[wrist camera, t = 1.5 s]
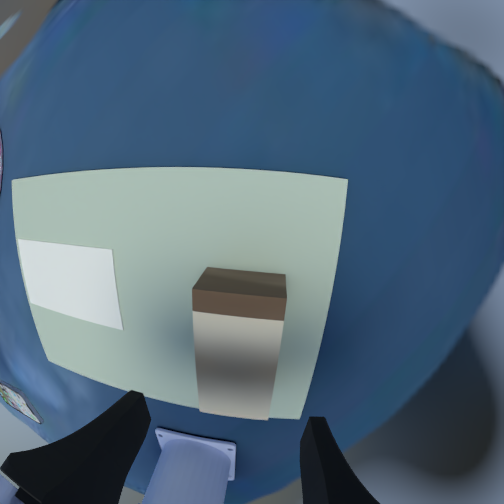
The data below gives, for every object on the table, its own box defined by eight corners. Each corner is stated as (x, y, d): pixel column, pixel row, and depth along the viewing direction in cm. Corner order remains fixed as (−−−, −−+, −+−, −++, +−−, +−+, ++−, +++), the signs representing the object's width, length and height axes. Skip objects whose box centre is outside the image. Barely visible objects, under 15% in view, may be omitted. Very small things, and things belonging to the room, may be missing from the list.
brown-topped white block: (269, 389, 18) (267, 420, 15) (209, 382, 18) (199, 411, 15) (285, 274, 15) (287, 298, 12) (207, 266, 15) (191, 288, 12)
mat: (299, 415, 19) (299, 420, 18) (50, 358, 20) (47, 361, 20) (345, 179, 14) (348, 179, 13) (15, 179, 15) (10, 180, 15)
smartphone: (-13, 373, 26) (19, 393, 24) (-10, 371, 27) (23, 389, 25) (6, 403, 28) (43, 426, 26) (9, 400, 30) (46, 422, 27)
